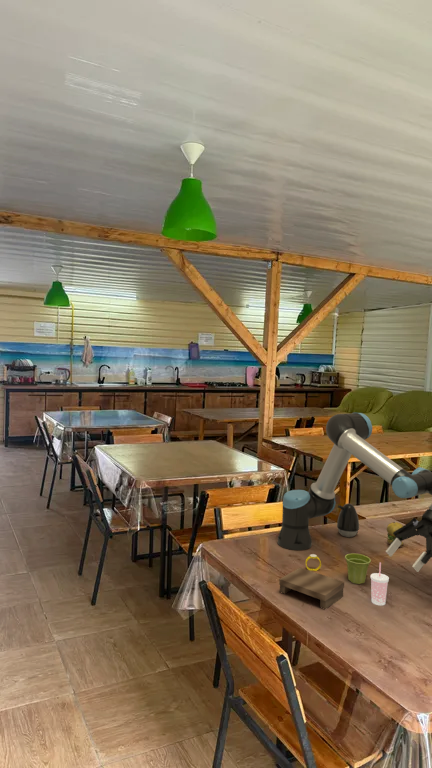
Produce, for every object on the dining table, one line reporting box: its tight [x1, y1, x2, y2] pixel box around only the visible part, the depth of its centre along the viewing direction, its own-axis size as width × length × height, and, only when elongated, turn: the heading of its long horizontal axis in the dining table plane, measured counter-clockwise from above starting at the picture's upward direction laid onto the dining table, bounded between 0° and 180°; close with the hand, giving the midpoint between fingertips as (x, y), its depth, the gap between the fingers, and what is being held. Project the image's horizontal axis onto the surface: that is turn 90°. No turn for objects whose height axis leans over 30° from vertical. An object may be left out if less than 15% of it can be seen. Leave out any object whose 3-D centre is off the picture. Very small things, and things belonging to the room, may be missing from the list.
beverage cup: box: [370, 562, 390, 606], centre depth 177 cm, size 6×6×14 cm
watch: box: [304, 553, 322, 572], centre depth 203 cm, size 6×3×6 cm, turn 89°
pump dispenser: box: [336, 503, 360, 538], centre depth 243 cm, size 10×10×15 cm
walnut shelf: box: [278, 566, 345, 610], centre depth 182 cm, size 18×14×5 cm
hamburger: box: [386, 520, 404, 547], centre depth 231 cm, size 8×7×12 cm
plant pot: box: [344, 553, 372, 585], centre depth 194 cm, size 9×9×9 cm
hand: (401, 561), depth 179 cm, fingers open, 13 cm apart
